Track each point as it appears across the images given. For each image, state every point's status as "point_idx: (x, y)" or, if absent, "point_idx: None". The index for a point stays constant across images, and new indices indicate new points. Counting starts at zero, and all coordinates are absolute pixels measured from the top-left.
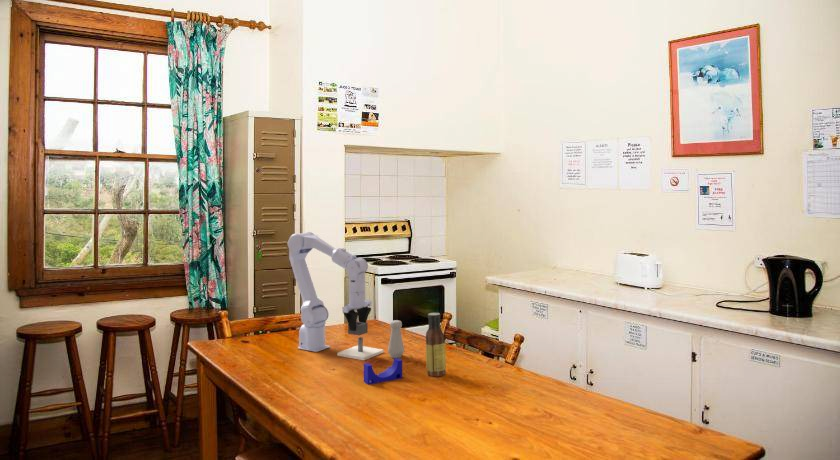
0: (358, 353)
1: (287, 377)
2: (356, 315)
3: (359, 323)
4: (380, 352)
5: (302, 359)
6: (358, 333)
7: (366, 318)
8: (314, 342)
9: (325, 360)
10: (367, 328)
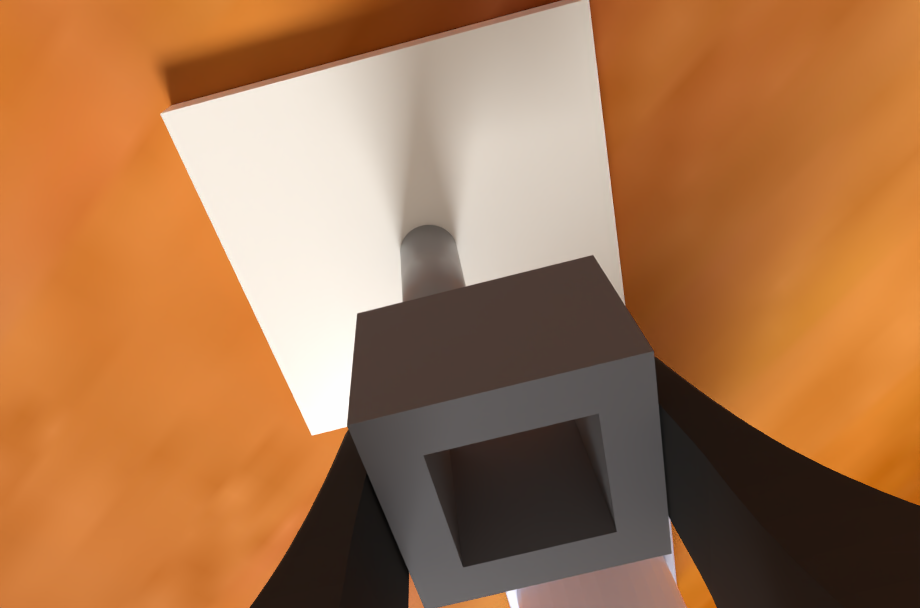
0: (505, 196)
1: None
2: (885, 550)
3: (450, 516)
4: (230, 92)
5: (866, 422)
6: (605, 281)
7: (315, 550)
8: (670, 593)
9: (798, 288)
10: (353, 355)
